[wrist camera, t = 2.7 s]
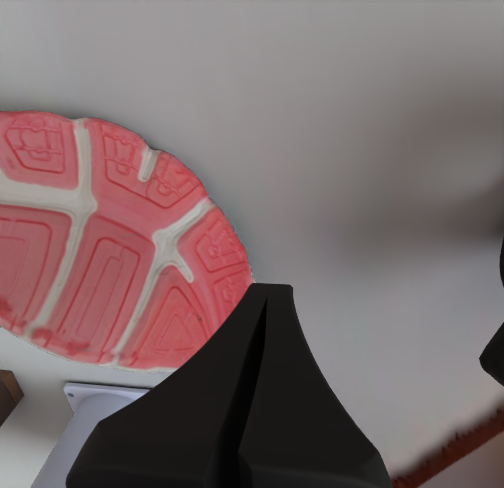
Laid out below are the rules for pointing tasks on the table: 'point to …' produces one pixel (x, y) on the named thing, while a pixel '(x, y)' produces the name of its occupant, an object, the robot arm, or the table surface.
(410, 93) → the table surface
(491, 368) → the controller
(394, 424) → the table surface
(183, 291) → the athletic shoe
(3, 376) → the rack
